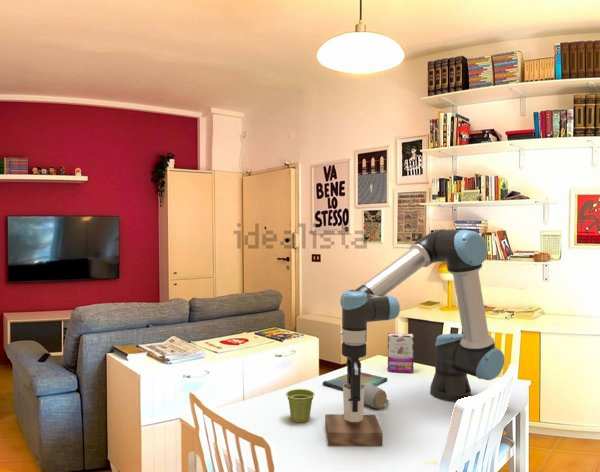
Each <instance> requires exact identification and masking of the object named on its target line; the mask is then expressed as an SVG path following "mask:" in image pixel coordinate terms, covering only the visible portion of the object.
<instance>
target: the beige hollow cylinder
mask: <svg viewBox="0 0 600 472" xmlns="http://www.w3.org/2000/svg"><path fill="white" fill-rule="evenodd" d="M364 388H365V386H364V385H363V384H361V383H360V399H361V400H360V401H359V421H361V420H363V415H364V405H365V404H364ZM342 394H343V395H342V397H343V398H342V400H343V414H344V419H345V420H347V421H350V401H348V399H350V398H351V385H350V384H349V383H345V384H344V385H343V391H342Z"/></svg>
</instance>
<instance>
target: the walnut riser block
mask: <svg viewBox="0 0 600 472" xmlns="http://www.w3.org/2000/svg"><path fill="white" fill-rule="evenodd" d="M324 415H325V417H324V418H325V419H324V420H325V421H324V422H325V423H324V426H325V428H324V429H325V433H326V440H327V446H328V447H383V440H384V439H383V438H384V436H383V435H384V433H383V430H382V428H381V425H380V423H379V420H378V418H377V416H376V414H363V420H361V421H359V422H350V421H347V420H345V419H344V413H343V414H341V413H340V414H337V413H336V414H330V413H329V414H326V413H325V414H324Z"/></svg>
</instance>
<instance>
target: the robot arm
mask: <svg viewBox="0 0 600 472" xmlns="http://www.w3.org/2000/svg"><path fill="white" fill-rule="evenodd" d="M487 254H488V246H487V242H486V240H485V238H484V237H483V235H481V234H480V233H479V232H477V231H473V230H468V229H443V228H442V229H438V230H434V231H432V232H430V233H428V234H426V235H424V236H423V237H420V238H419V239H418V240H416V241H415V242H414V243H412V244H411V245H410V247H409V250H408V251H406V252H405V253H404V254H402V255H400V256H399V257H398V258H397V259H395V260H394V261H393V262H391V263H390V264H389V265H387V266H386V267H385V268H383V269H382V270H380V271H379V272H378V273H376V274H375V275H374V276H372V277H371V278H370V279H368V280H366V281H365V282H364V283H363V284H362V285H360V286H359V287H357V288H355V289H348V290H345V291H344V292H343V293H342V294H341V295H340V300H339V302H340V306H341V330H342V331H340V332H339V334H340V335H341V341H342V343H341V355H342V356H343V357H345V358H346V370H347V371H346V372H347V373H346V374H347V383H349V384H350V385H351V398H350V399H348V401H350V422H359V401H360V400H361V399H360V374H361V372H362V369H361V368H362V363H361V360H360V358H365V357H366V356H367V343H366V342H367V339H368V328H367V327H368V323H371V322H381V321H391V320H395V319H396V318H398V316H399V314H400V312H401V306H400V302H399V300H398V298H396V297H395V296H393V295H387V294H389V293H390V292H391V291H392V290H394V289H396V288H397V287H398V286H399V285H400V284H402V283H403V282H404V281H406V280H407V279H409V278H410V277H411V276H412V275H414V274H415V273H416V272H418V271H419V270H420V269H422V268H428V267H429V266H430V265H431V264H434V263H438V262H439V263H440V262H441V263H446V269H447V272H448V273H450V274H451V275H452V276H453V278H452V279H453V283H454V288H455V295H456V301H457V307H458V312H459V317H460V323H461V331H462V333H444V334H439V335H438V336H437V337H436V339H435V345H434V346H435V347H434V348H435V349H434V350H435V351H434V352H435V354H434V356H435V360H434V361H435V365H434V366H435V369H434V370H435V371H434V376H433V378H432V381H431V384H430V387H429V388H430V389H429V391H430V392H429V393H430V395H432V396H433V397H434V398H436V399H440V400H444V401H450V402H458V401H457V400H458V399H461V398H464V397H468V396H471V397H472V388H471V385H470V383H469V379H468V375H470V376H471V377H476V378H477V379H479V380H485V381H493V380H495V379H496V378H498V377H499V375H500V374H501V372H502V370H503V368H504V365H505V355H504V353H503V351H502V350H501V349H500V348H497V347H496V343H495V339H494V337H492V336H491V335H489V329H488V323H487V316H486V311H485V305H484V298H483V292H482V286H481V278H480V274H479V271H480V270H481V269H482V267H483V263H484V262H485V260H486V258H487V257H486V256H487Z"/></svg>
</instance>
